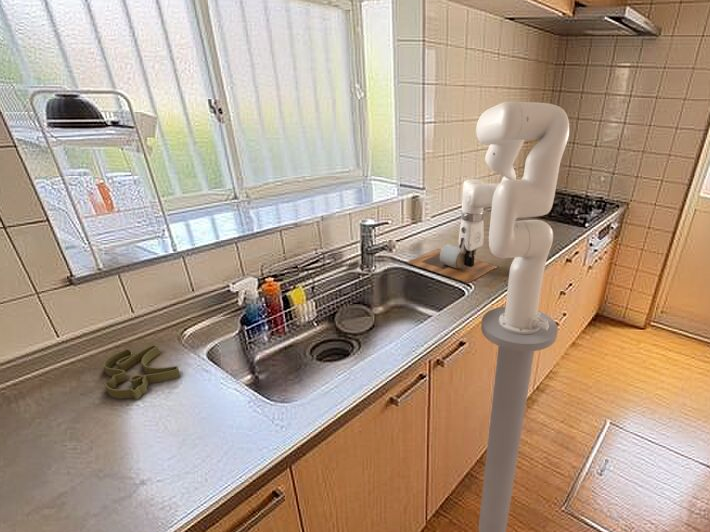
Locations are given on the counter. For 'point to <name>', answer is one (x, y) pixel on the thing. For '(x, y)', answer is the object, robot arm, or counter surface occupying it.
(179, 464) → the counter surface
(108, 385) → the cookie cutter
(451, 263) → the ceramic mug
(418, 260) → the wooden cutting board
